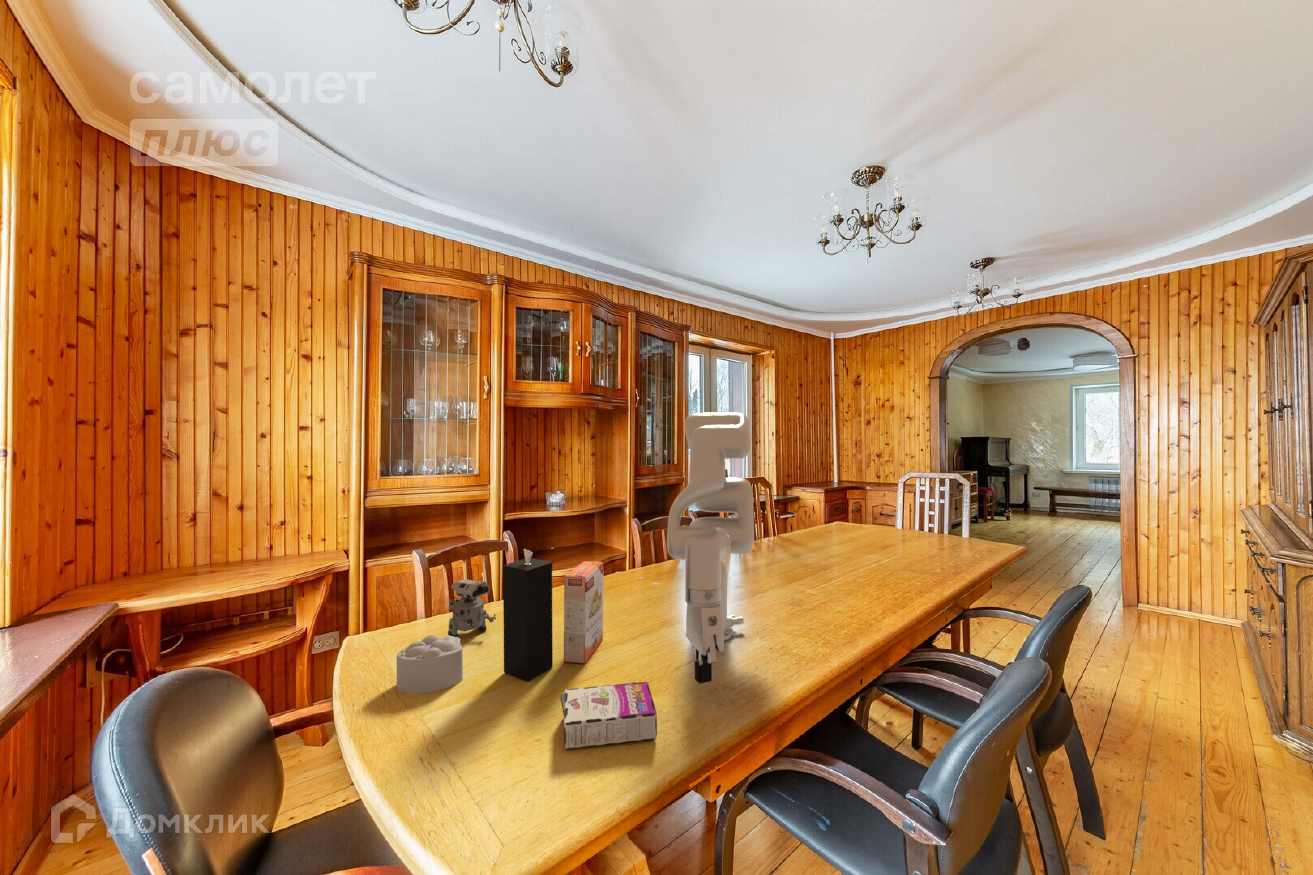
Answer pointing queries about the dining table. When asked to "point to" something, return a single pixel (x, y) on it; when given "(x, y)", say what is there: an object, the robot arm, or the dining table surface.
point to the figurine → (468, 607)
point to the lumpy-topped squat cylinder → (430, 665)
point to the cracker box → (583, 611)
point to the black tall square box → (527, 617)
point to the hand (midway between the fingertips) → (703, 680)
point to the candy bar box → (609, 715)
